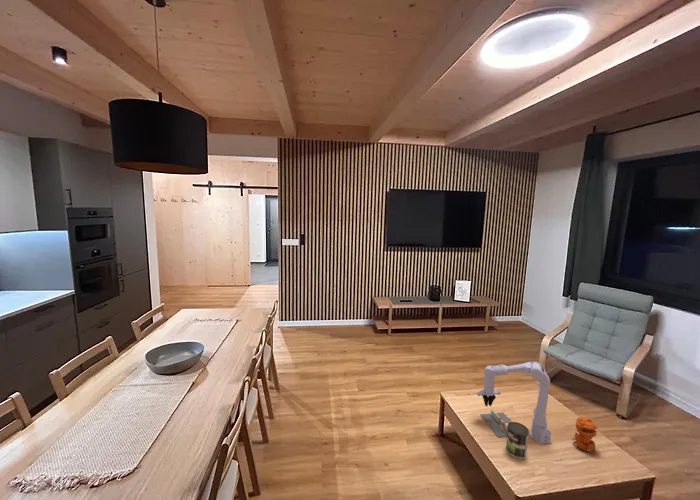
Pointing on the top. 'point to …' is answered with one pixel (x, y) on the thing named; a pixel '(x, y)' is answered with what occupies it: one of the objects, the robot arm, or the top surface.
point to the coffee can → (517, 440)
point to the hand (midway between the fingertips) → (487, 405)
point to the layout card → (496, 423)
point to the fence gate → (495, 415)
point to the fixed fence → (503, 424)
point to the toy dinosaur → (585, 433)
